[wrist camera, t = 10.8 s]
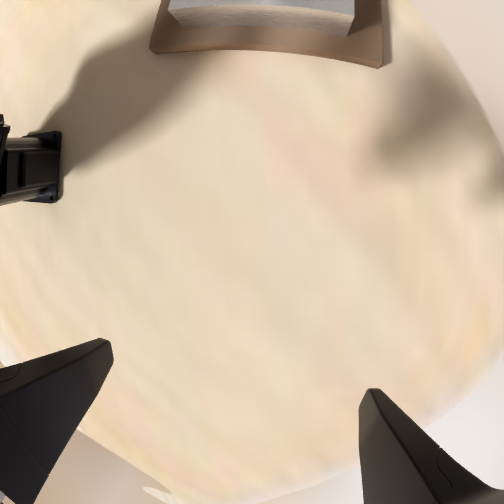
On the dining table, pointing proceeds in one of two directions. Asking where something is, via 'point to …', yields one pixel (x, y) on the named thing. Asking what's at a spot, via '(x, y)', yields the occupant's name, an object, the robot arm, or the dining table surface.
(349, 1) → the light gray square frame
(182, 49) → the square wooden tray
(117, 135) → the dining table surface
